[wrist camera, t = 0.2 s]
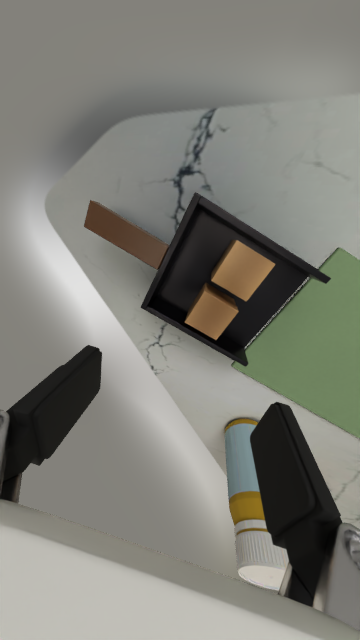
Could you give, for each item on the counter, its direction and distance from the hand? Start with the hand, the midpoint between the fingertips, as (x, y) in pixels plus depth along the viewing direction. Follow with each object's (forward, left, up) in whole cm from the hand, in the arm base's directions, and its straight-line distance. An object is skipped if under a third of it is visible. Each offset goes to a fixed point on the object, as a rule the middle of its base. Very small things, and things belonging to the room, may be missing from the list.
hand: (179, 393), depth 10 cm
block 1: (-1, +2, -14) cm, 14 cm away
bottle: (+20, +14, -15) cm, 29 cm away
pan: (-4, -2, -15) cm, 15 cm away
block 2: (-6, +3, -14) cm, 15 cm away
